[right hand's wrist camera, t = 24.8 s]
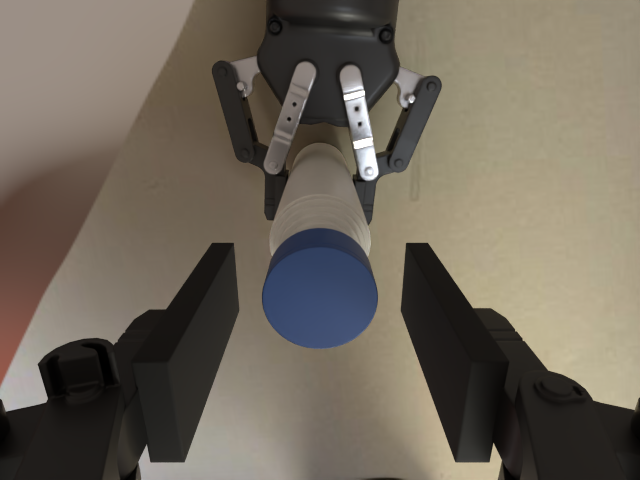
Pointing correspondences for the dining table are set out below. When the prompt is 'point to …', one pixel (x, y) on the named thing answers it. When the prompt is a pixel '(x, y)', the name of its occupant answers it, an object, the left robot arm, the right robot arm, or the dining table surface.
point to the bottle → (319, 198)
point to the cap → (319, 289)
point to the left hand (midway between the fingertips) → (316, 226)
